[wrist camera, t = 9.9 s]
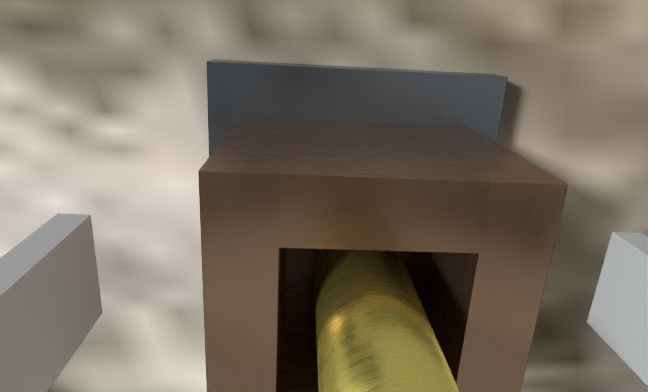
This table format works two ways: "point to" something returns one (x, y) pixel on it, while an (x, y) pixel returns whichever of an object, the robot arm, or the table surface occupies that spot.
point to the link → (371, 242)
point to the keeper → (360, 265)
